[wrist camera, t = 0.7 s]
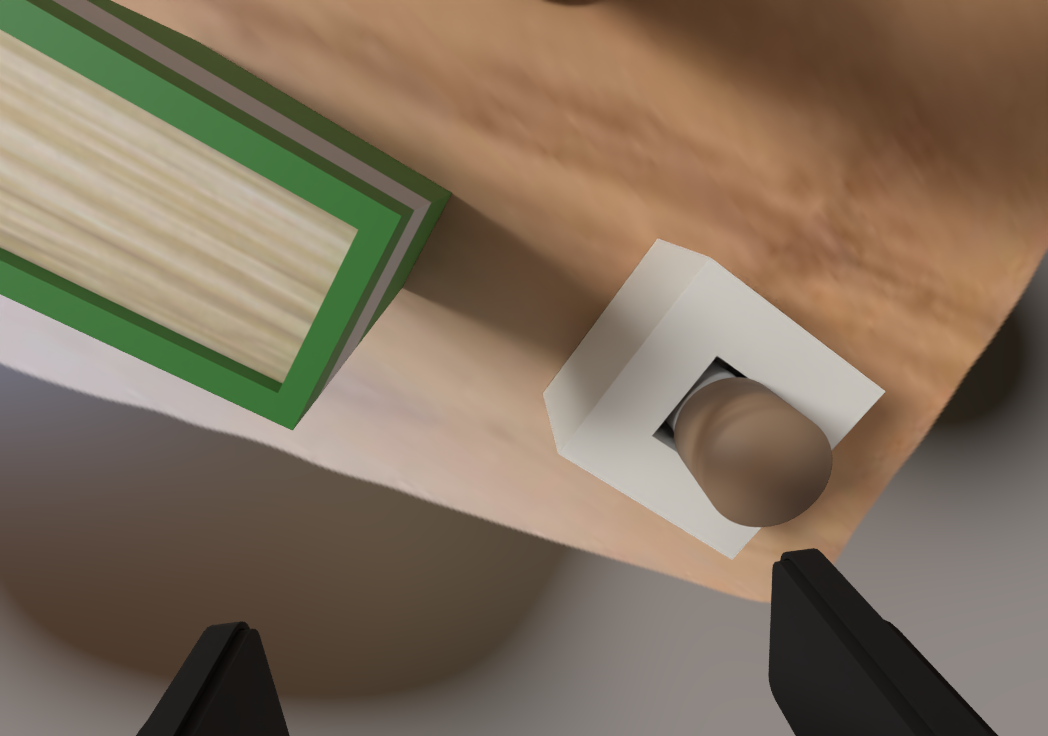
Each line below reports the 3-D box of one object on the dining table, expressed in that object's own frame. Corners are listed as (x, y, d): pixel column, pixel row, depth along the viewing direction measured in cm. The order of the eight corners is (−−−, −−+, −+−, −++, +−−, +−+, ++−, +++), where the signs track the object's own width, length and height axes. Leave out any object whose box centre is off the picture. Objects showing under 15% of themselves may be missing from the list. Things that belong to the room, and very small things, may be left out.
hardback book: (152, 151, 37) (-393, 110, 14) (194, 39, 35) (-352, -217, 12) (401, 287, 40) (292, 430, 18) (451, 193, 39) (401, 216, 16)
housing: (657, 238, 40) (710, 257, 31) (798, 344, 44) (885, 391, 34) (542, 393, 44) (558, 453, 34) (682, 482, 47) (731, 559, 37)
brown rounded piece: (669, 314, 41) (765, 387, 27) (734, 361, 43) (858, 454, 28) (615, 384, 43) (679, 488, 28) (680, 428, 44) (772, 547, 30)
